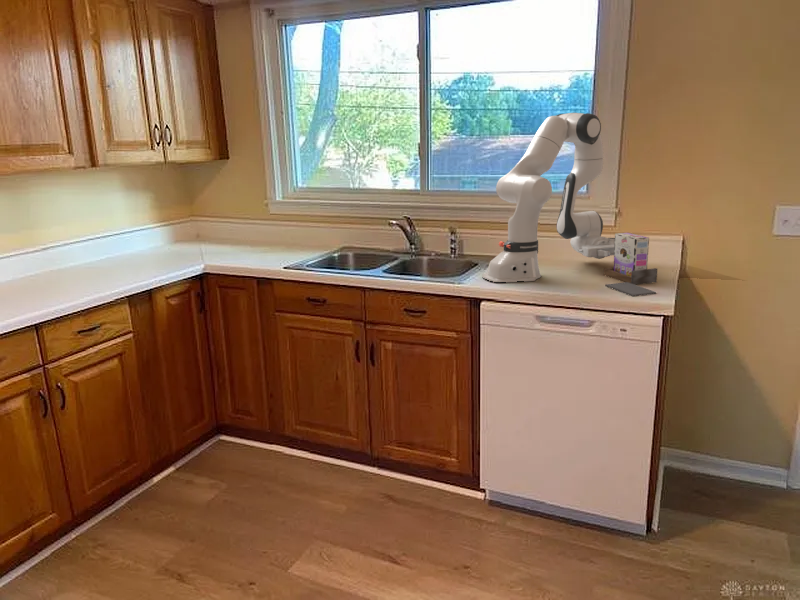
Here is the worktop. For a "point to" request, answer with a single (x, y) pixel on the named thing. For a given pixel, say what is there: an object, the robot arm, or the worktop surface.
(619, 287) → the mat
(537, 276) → the robot arm
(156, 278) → the worktop surface
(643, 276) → the holder
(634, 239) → the candy box
